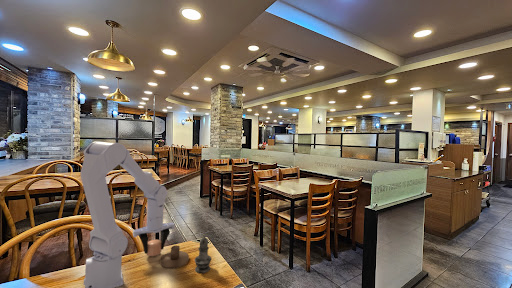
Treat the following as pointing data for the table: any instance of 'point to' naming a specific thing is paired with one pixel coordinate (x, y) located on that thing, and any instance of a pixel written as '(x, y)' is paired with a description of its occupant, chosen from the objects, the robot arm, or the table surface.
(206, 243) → the dark grey chess piece
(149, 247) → the cap
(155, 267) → the table surface
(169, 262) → the post stand
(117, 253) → the robot arm
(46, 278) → the table surface
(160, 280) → the table surface
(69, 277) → the table surface
